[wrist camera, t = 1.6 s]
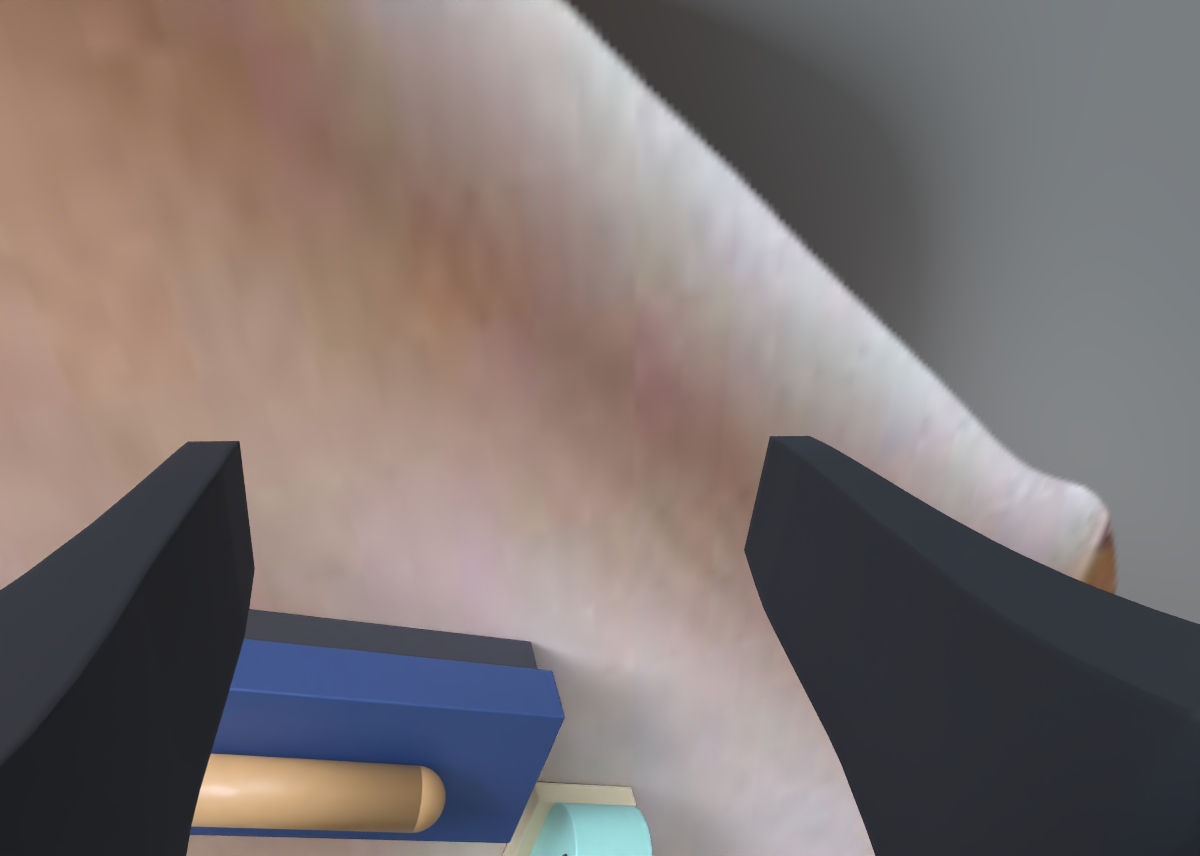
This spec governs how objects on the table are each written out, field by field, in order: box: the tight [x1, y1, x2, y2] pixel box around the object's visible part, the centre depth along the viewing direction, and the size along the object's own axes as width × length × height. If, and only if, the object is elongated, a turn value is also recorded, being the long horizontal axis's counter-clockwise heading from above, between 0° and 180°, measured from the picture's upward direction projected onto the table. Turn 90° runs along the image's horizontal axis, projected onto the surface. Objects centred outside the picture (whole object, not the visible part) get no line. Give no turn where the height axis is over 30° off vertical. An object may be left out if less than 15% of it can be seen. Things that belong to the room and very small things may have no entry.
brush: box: [190, 609, 565, 843], centre depth 23 cm, size 13×5×5 cm, turn 70°
